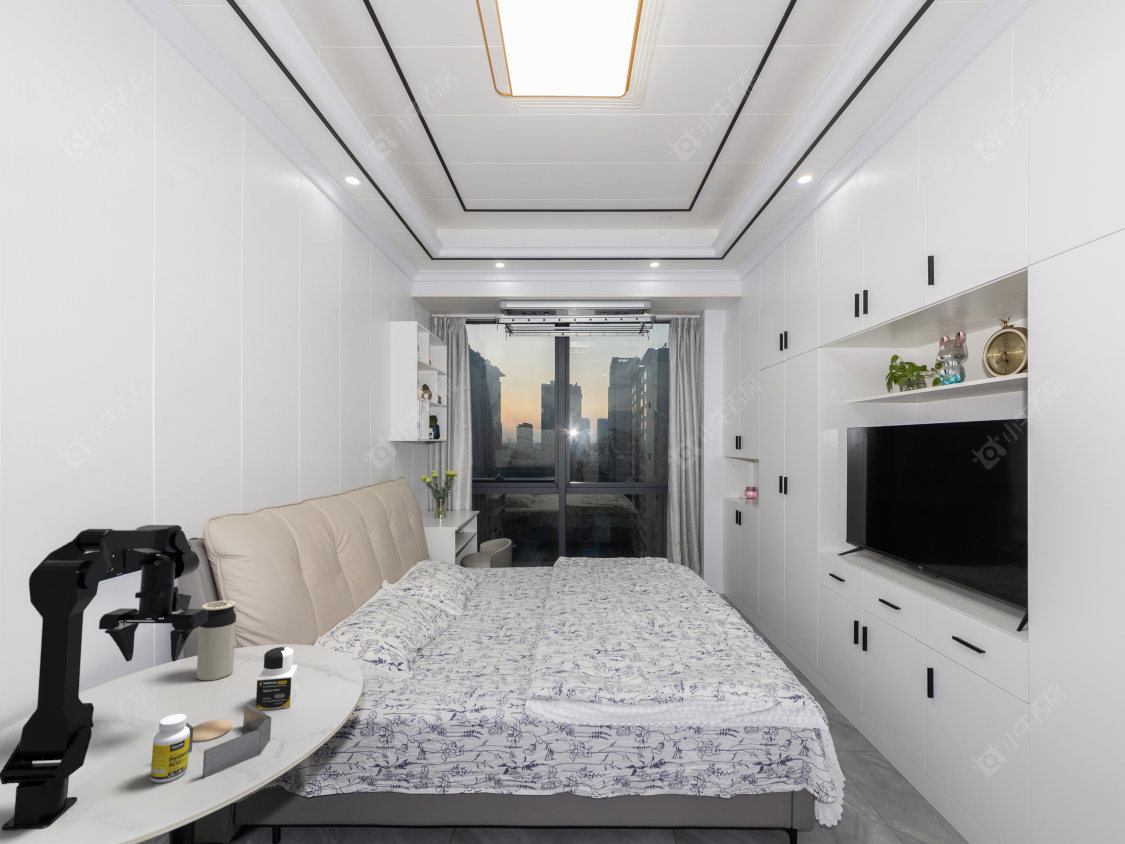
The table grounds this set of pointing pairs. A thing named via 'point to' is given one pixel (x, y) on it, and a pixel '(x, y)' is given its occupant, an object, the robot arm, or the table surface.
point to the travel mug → (217, 641)
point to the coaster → (211, 730)
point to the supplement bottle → (170, 749)
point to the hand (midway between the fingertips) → (152, 660)
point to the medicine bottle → (277, 680)
